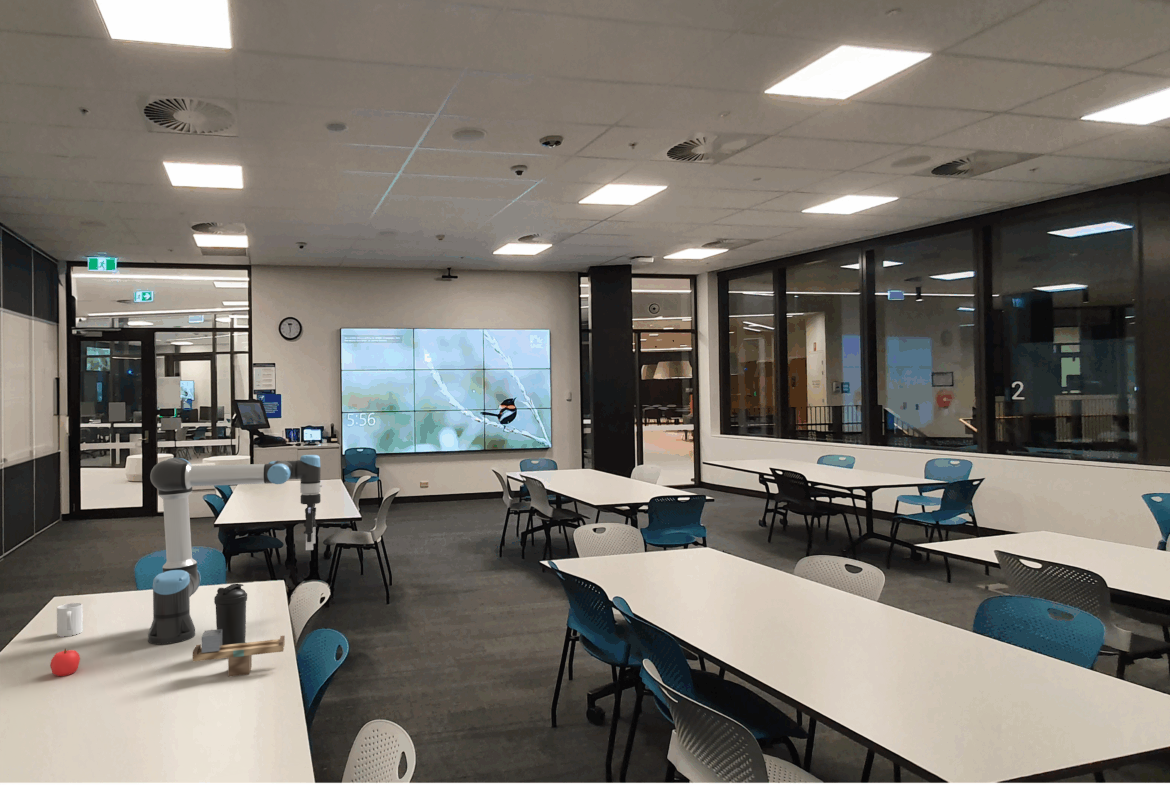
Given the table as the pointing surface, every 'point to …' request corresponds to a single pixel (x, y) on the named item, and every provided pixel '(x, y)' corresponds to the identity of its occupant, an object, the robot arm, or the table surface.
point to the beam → (240, 654)
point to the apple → (65, 662)
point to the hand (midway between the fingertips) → (310, 546)
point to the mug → (69, 619)
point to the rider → (212, 640)
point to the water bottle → (231, 613)
